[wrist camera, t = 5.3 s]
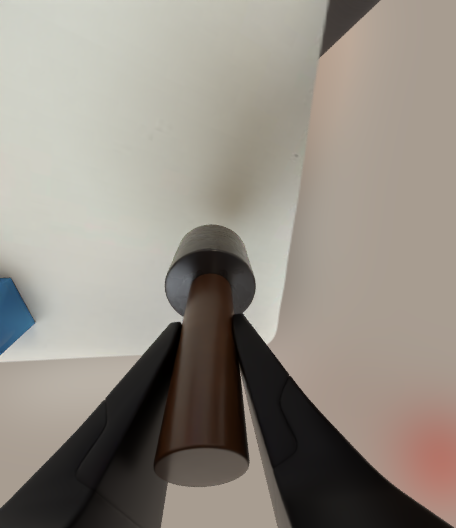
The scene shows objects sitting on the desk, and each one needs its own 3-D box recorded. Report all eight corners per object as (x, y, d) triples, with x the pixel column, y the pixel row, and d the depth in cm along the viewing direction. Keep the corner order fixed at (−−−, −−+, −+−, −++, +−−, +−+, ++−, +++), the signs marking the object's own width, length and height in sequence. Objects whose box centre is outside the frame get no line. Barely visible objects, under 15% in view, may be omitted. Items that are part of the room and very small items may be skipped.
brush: (242, 218, 13) (312, 396, 4) (249, 281, 15) (303, 493, 6) (169, 230, 13) (41, 431, 4) (186, 290, 16) (135, 513, 6)
